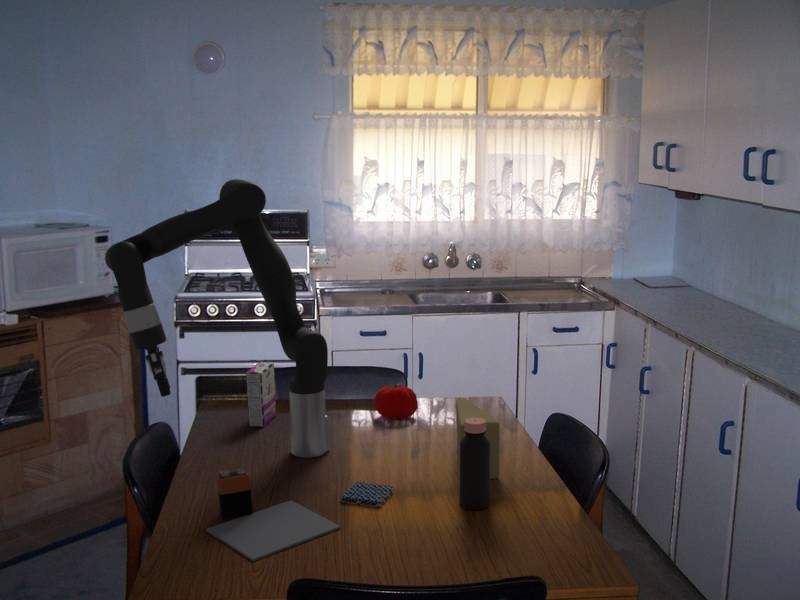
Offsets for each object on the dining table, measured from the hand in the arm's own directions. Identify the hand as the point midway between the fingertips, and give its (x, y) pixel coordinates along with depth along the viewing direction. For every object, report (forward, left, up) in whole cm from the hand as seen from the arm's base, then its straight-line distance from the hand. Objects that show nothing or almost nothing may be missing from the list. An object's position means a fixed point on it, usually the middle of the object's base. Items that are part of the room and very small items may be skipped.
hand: (166, 392), depth 209 cm
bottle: (-48, +53, -25) cm, 76 cm away
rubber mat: (-7, +33, -24) cm, 42 cm away
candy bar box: (-44, -30, -25) cm, 59 cm away
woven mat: (-32, +33, -25) cm, 53 cm away
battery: (-5, +21, -24) cm, 33 cm away
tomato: (-76, -6, -25) cm, 80 cm away
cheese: (-65, +35, -25) cm, 78 cm away
